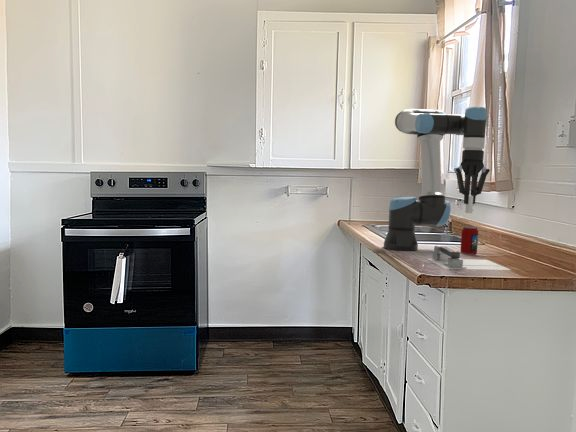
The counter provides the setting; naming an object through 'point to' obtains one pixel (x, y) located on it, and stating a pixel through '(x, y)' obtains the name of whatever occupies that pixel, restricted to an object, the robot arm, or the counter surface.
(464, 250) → the beverage can
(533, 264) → the counter surface
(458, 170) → the robot arm
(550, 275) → the counter surface
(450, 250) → the latch bar
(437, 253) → the keeper
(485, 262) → the door board
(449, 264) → the grey latch pivot mount
